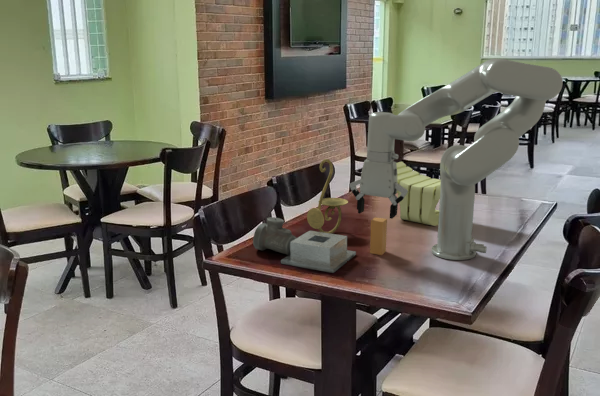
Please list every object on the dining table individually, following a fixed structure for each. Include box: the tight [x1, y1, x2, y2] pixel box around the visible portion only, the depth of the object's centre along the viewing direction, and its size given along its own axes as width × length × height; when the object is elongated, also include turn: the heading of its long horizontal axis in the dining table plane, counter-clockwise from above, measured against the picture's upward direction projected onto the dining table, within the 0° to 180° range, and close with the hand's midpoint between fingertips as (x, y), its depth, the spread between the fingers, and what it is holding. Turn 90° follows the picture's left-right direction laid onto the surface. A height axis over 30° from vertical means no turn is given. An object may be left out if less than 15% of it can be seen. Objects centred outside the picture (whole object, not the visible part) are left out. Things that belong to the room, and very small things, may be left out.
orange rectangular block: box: [369, 217, 388, 256], centre depth 170 cm, size 4×4×10 cm
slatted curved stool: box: [396, 161, 441, 227], centre depth 202 cm, size 30×16×18 cm, turn 49°
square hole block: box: [280, 230, 357, 274], centre depth 165 cm, size 16×16×6 cm
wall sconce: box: [306, 158, 349, 234], centre depth 184 cm, size 14×10×25 cm
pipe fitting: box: [252, 216, 297, 256], centre depth 170 cm, size 12×8×10 cm, turn 59°
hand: (376, 214), depth 168 cm, fingers open, 9 cm apart
